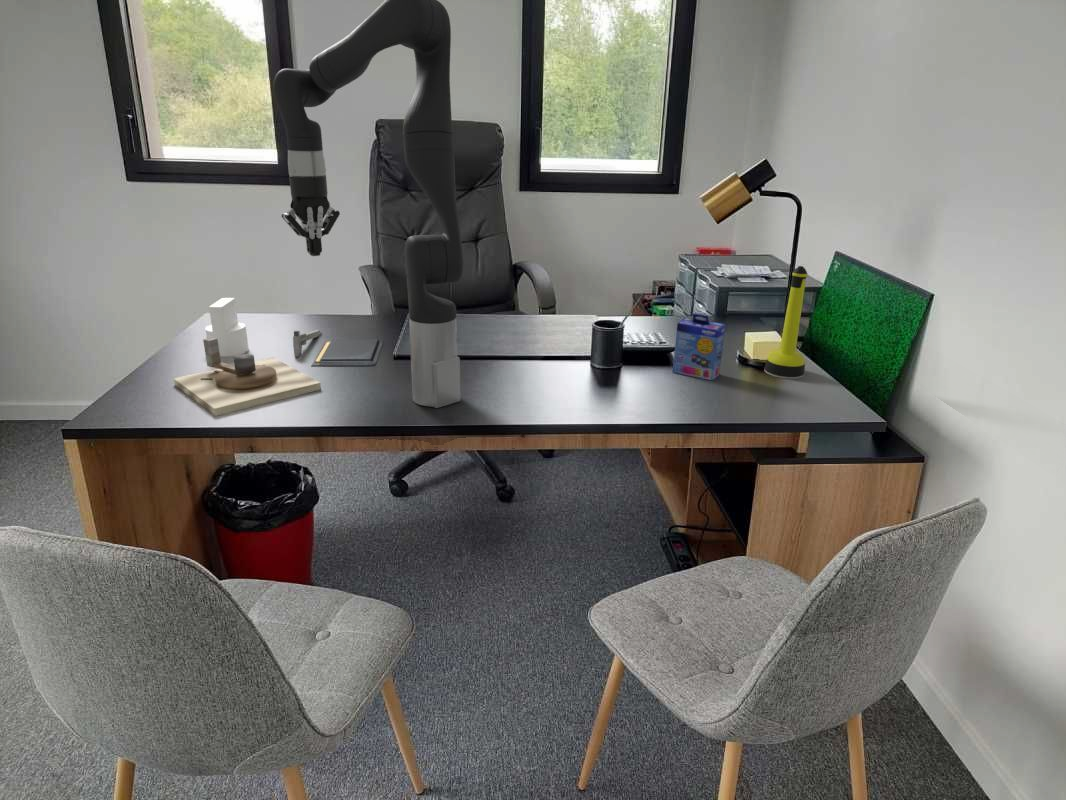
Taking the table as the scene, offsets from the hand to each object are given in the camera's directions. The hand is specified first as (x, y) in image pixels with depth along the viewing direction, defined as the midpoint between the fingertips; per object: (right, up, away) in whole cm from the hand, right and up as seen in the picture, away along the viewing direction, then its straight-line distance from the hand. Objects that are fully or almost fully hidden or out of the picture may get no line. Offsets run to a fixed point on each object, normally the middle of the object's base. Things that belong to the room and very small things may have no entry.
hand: (314, 255), depth 158 cm
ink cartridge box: (+86, -26, +8) cm, 90 cm away
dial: (-14, -27, -6) cm, 31 cm away
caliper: (-8, -18, +22) cm, 30 cm away
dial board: (-12, -29, -6) cm, 32 cm away
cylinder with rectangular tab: (-26, -20, +16) cm, 37 cm away
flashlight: (+107, -26, +10) cm, 110 cm away
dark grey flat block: (+3, -21, +17) cm, 27 cm away
